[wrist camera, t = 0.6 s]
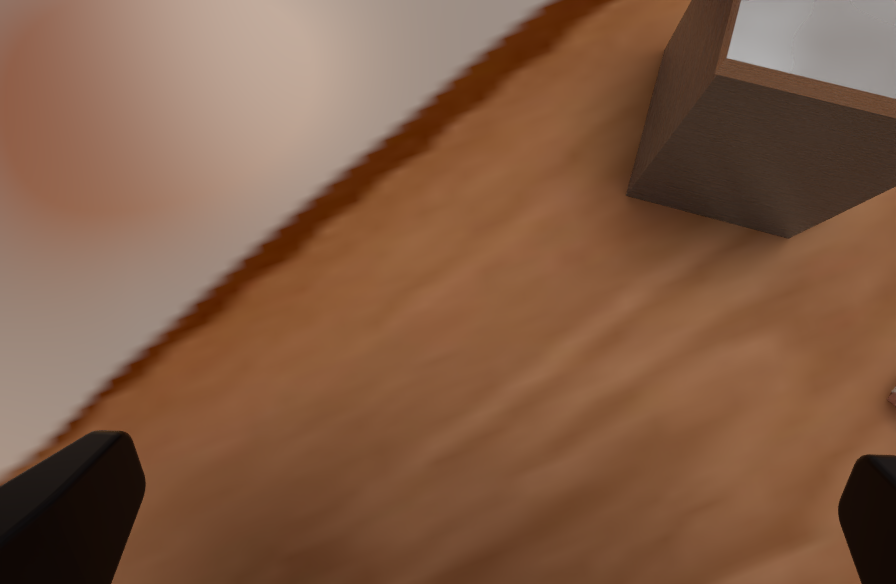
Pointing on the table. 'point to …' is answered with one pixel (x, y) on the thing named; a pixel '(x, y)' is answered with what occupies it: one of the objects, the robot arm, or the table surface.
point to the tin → (772, 112)
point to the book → (892, 397)
